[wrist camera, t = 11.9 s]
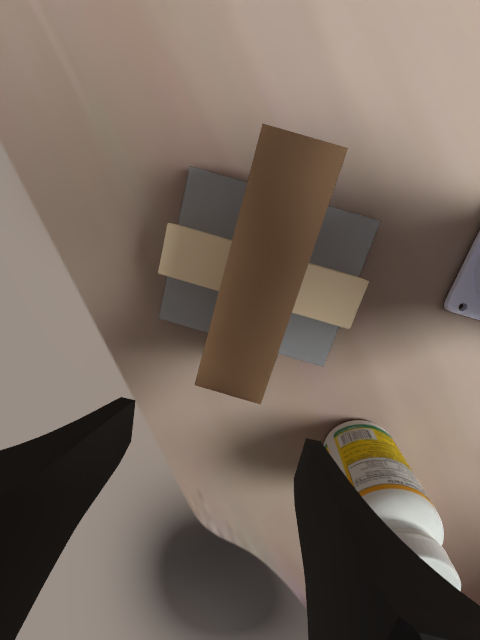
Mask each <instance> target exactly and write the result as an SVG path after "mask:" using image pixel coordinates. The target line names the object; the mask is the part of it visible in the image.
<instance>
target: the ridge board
mask: <svg viewBox="0 0 480 640" xmlns="http://www.w3.org/2000/svg"><path fill="white" fill-rule="evenodd" d="M246 186H247V182H244V181H240V180H237V179H234V178H230V177H227V176H223V175H220V174H216V173H213V172H209V171H206V170H202V169H199V168H196V167H192V166H190V168H189V173H188V178H187V183H186V187H185V192H184V197H183V202H182V207H181V212H180V217H179V221H178V224H172V223H168V224H167V229H166V235H165V240H164V245H163V250H162V255H161V260H160V265H159V270H158V274H162V275H165V276H167V280H166V284H165V289H164V294H163V299H162V304H161V309H160V313H159V319H162V320H165V321H169V322H172V323H176V324H179V325H182V326H186V327H189V328H193V329H196V330H200V331H203V332H206V333H208V332H209V328H210V324H211V320H212V316H213V312H214V309H215V305H216V301H217V297H218V293H219V289H220V286H221V282H222V278H223V274H224V270H225V266H226V262H227V259H228V255H229V251H230V247H231V243H232V239H233V236H234V232H235V228H236V224H237V220H238V216H239V213H240V209H241V205H242V201H243V197H244V193H245V190H246ZM380 222H381V221H379V220H375V219H372V218H368V217H365V216H361V215H358V214H355V213H351V212H348V211H344V210H341V209H337V208H334V207H330V206H328V208H327V211H326V214H325V217H324V220H323V223H322V226H321V228H320V231H319V234H318V237H317V240H316V243H315V246H314V249H313V252H312V255H311V258H310V261H309V264H308V267H307V270H306V273H305V275H304V278H303V281H302V284H301V287H300V290H299V293H298V296H297V299H296V302H295V305H294V308H293V311H292V314H291V317H290V319H289V322H288V325H287V328H286V331H285V334H284V337H283V340H282V343H281V346H280V349H279V352H278V354H281V355H285V356H288V357H292V358H295V359H298V360H302V361H305V362H309V363H312V364H316V365H319V366H322V367H323V366H324V364H325V361H326V358H327V356H328V353H329V351H330V348H331V346H332V343H333V341H334V338H335V336H336V333H337V331H338V328H339V326H340V327H343V328H347V329H350V328H351V325H352V323H353V320H354V318H355V315H356V313H357V310H358V308H359V306H360V303H361V301H362V298H363V296H364V293H365V291H366V288H367V286H368V283H369V281H367V280H365V279H362V278H360V277H359V275H360V272H361V270H362V267H363V265H364V262H365V260H366V257H367V255H368V252H369V250H370V247H371V245H372V242H373V239H374V237H375V234H376V232H377V229H378V227H379V224H380Z"/></svg>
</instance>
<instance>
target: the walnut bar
mask: <svg viewBox="0 0 480 640" xmlns="http://www.w3.org/2000/svg"><path fill="white" fill-rule="evenodd" d="M347 149H348V148H346V147H342V146H339V145H335V144H332V143H328V142H325V141H321V140H318V139H314V138H311V137H307V136H304V135H300V134H297V133H293V132H290V131H286V130H283V129H279V128H276V127H272V126H269V125H265V124H262V128H261V132H260V136H259V140H258V143H257V147H256V151H255V155H254V159H253V163H252V167H251V170H250V174H249V178H248V182H247V186H246V190H245V193H244V197H243V201H242V205H241V209H240V213H239V216H238V220H237V224H236V228H235V232H234V236H233V239H232V243H231V247H230V251H229V255H228V259H227V262H226V266H225V270H224V274H223V278H222V282H221V286H220V289H219V293H218V297H217V301H216V305H215V309H214V312H213V316H212V320H211V324H210V328H209V332H208V335H207V339H206V343H205V347H204V351H203V355H202V358H201V362H200V366H199V370H198V374H197V378H196V381H195V385H196V386H200V387H203V388H207V389H210V390H213V391H217V392H220V393H224V394H227V395H230V396H234V397H237V398H241V399H244V400H247V401H251V402H254V403H258V404H261V402H262V399H263V396H264V393H265V390H266V387H267V384H268V381H269V378H270V375H271V372H272V369H273V366H274V364H275V361H276V358H277V355H278V352H279V349H280V346H281V343H282V340H283V337H284V334H285V331H286V328H287V325H288V322H289V319H290V317H291V314H292V311H293V308H294V305H295V302H296V299H297V296H298V293H299V290H300V287H301V284H302V281H303V278H304V275H305V273H306V270H307V267H308V264H309V261H310V258H311V255H312V252H313V249H314V246H315V243H316V240H317V237H318V234H319V231H320V228H321V226H322V223H323V220H324V217H325V214H326V211H327V208H328V205H329V202H330V199H331V196H332V193H333V190H334V187H335V184H336V181H337V179H338V176H339V173H340V170H341V167H342V164H343V161H344V158H345V155H346V152H347Z"/></svg>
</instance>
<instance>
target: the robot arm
mask: <svg viewBox="0 0 480 640" xmlns="http://www.w3.org/2000/svg"><path fill="white" fill-rule="evenodd" d="M462 303H463V307H462V309H460V310H459V309H458V307H459V305H460V304H462ZM444 308H445V309H446V310H448V311H450V312H453V313H456V314H460V315H463V316H466V317H470V318H473V319H477V320H480V231H479V233H478V235H477V237H476V239H475V241H474V243H473V245H472V247H471V249H470V251H469V253H468V255H467V257H466V259H465V261H464V263H463V265H462V267H461V269H460V271H459V273H458V275H457V277H456V279H455V282H454V284H453V286H452V288H451V290H450V292H449V294H448V296H447V298H446V300H445V302H444ZM134 409H135V400H131V399H127V398H122V397H121V398H119V399H117V400H115V401H113V402H111V403H109V404H107V405H105V406H103V407H102V408H99V409H98V410H96V411H94V412H92V413H90V414H88V415H86V416H84V417H82V418H80V419H78V420H76V421H74V422H72V423H70V424H68V425H65V426H63V427H61V428H59V429H57V430H54V431H52V432H50V433H48V434H45V435H43V436H40V437H38V438H35V439H33V440H30V441H27V442H25V443H22V444H19V445H16V446H13V447H10V448H7V449H3V450H0V640H15V638H16V636H17V634H18V632H19V630H20V629H21V627H22V625H23V623H24V621H25V619H26V617H27V615H28V613H29V611H30V610H31V608H32V606H33V604H34V602H35V600H36V598H37V596H38V594H39V592H40V591H41V589H42V587H43V585H44V583H45V581H46V580H47V578H48V576H49V574H50V572H51V571H52V569H53V567H54V565H55V563H56V562H57V560H58V558H59V556H60V554H61V553H62V551H63V549H64V547H65V546H66V544H67V542H68V540H69V539H70V537H71V535H72V533H73V531H74V530H75V528H76V527H77V525H78V524H79V522H80V520H81V519H82V517H83V516H84V514H85V513H86V511H87V510H88V508H89V507H90V506H91V504H92V503H93V501H94V500H95V498H96V497H97V496H98V494H99V493H100V491H101V490H102V488H103V486H104V485H105V484H106V483H107V481H108V479H109V478H110V477H111V475H112V474H113V472H114V471H115V469H116V468H117V466H118V465H119V463H120V461H121V459H122V458H123V456H124V454H125V452H126V450H127V448H128V446H129V444H130V442H131V437H132V427H133V418H134ZM294 501H295V511H296V518H297V525H298V532H299V539H300V546H301V552H302V559H303V566H304V574H305V584H306V600H307V616H308V638H309V640H480V606H479V605H478V604H476V603H475V602H474V601H472V600H471V599H470V598H468V597H467V596H466V595H464V594H463V593H462V592H460V591H459V590H458V589H457V588H455V587H454V586H453V585H452V584H451V583H449V582H448V581H447V580H446V579H445V578H443V577H442V576H441V575H440V574H439V573H437V572H436V571H435V570H434V569H433V568H432V567H430V566H429V565H428V564H427V563H426V562H425V561H424V560H422V559H421V558H420V557H419V556H418V555H417V554H416V553H415V552H414V551H413V550H412V549H411V548H410V547H408V546H407V545H406V544H405V543H404V542H403V541H402V540H401V539H400V538H399V537H398V536H397V535H396V534H395V533H394V532H393V531H392V530H391V529H390V528H389V527H388V526H387V525H386V524H385V522H384V521H383V520H382V519H381V518H380V517H379V516H378V515H377V514H376V513H375V512H374V511H373V509H372V508H371V507H370V506H369V505H368V504H367V502H366V501H365V500H364V499H363V498H362V496H361V495H360V494H359V493H358V491H357V490H356V489H355V488H354V486H353V485H352V484H351V482H350V481H349V480H348V479H347V477H346V476H345V475H344V473H343V472H342V470H341V469H340V468H339V466H338V465H337V463H336V462H335V461H334V459H333V458H332V456H331V455H330V454H329V452H328V451H327V449H326V448H325V446H324V445H323V444H322V442H320V441H316V440H311V439H307V438H306V441H305V444H304V447H303V450H302V454H301V457H300V460H299V463H298V467H297V470H296V473H295V477H294Z"/></svg>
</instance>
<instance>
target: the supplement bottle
mask: <svg viewBox="0 0 480 640" xmlns="http://www.w3.org/2000/svg"><path fill="white" fill-rule="evenodd" d="M324 446H325V448H326V449H327V451H328V452H329V454H330V455H331V456H332V458H333V459H334V461H335V462H336V463H337V465H338V466H339V468H340V469H341V470H342V472H343V473H344V475H345V476H346V477H347V479H348V480H349V481H350V482H351V484H352V485H353V486H354V488H355V489H356V490H357V491H358V493H359V494H360V495H361V496H362V498H363V499H364V500H365V501H366V502H367V504H368V505H369V506H370V507H371V508H372V509H373V511H374V512H375V513H376V514H377V515H378V516H379V517H380V518H381V519H382V520H383V521H384V522H385V524H386V525H387V526H388V527H389V528H390V529H391V530H392V531H393V532H394V533H395V534H396V535H397V536H398V537H399V538H400V539H401V540H402V541H403V542H404V543H405V544H406V545H407V546H408V547H410V548H411V549H412V550H413V551H414V552H415V553H416V554H417V555H418V556H419V557H420V558H421V559H422V560H424V561H425V562H426V563H427V564H428V565H429V566H430V567H432V568H433V569H434V570H435V571H436V572H437V573H439V574H440V575H441V576H442V577H443V578H445V579H446V580H447V581H448V582H449V583H451V584H452V585H453V586H454V587H455V588H457V589H458V590H459V591H460V592H461V582H460V578H459V576H458V573H457V572H456V570H455V568H454V566H453V564H452V562H451V561H450V559H449V557H448V555H447V553H446V551H445V550H444V548H443V547H442V544H443V538H444V531H443V525H442V521H441V518H440V516H439V514H438V512H437V511H436V509H435V507H434V505H433V504H432V502H431V501H430V499H429V497H428V496H427V494H426V493H425V491H424V489H423V488H422V486H421V484H420V483H419V481H418V480H417V478H416V476H415V475H414V473H413V472H412V470H411V469H410V467H409V465H408V464H407V462H406V461H405V459H404V457H403V456H402V454H401V452H400V451H399V449H398V447H397V446H396V444H395V442H394V441H393V439H392V438H391V436H390V435H389V434H388V432H387V431H386V430H385V429H383V428H382V427H380V426H379V425H377V424H375V423H372V422H369V421H363V420H353V421H348V422H345V423H342V424H340V425H338V426H337V427H335V428H334V429H333V430H332V431H331V432H330V433H329V434H328V436H327V437H326V439H325V442H324Z"/></svg>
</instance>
